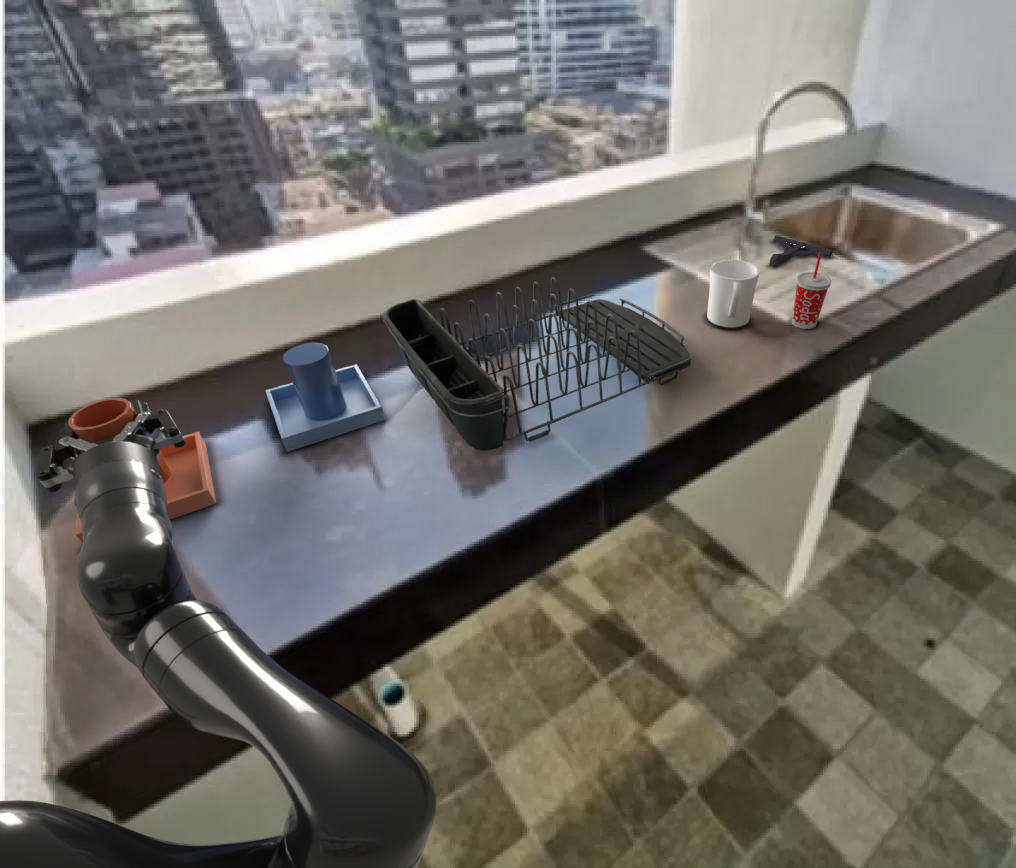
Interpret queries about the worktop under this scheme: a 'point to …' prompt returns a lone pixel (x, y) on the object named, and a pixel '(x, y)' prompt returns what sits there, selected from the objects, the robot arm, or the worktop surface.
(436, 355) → the dish rack
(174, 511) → the terracotta tray
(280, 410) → the blue tray
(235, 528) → the worktop surface
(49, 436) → the worktop surface
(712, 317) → the mug
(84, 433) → the terracotta cup
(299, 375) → the blue upright cylinder
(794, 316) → the beverage cup
